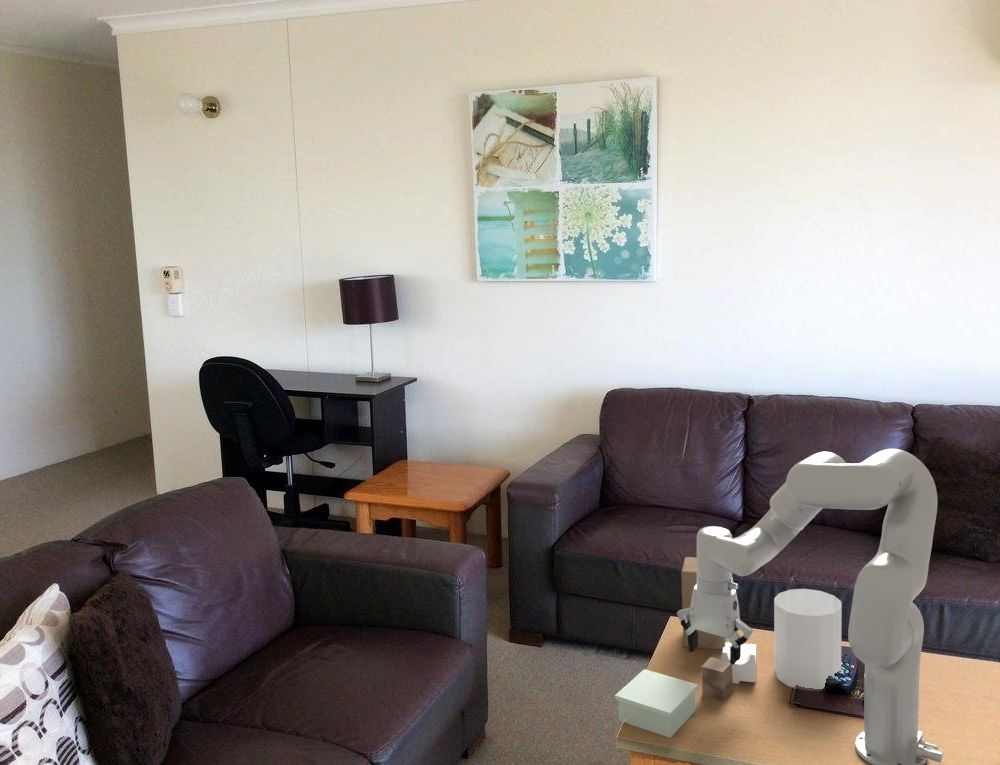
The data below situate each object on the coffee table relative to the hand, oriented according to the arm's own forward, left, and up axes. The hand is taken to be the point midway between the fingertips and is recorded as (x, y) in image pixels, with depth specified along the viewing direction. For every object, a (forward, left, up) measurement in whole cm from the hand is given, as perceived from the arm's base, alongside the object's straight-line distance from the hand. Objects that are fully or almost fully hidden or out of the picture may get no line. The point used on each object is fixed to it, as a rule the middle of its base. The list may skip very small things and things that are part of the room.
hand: (713, 655), depth 192 cm
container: (-15, -18, -9) cm, 25 cm away
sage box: (+6, +15, -9) cm, 19 cm away
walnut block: (-1, 0, -9) cm, 9 cm away
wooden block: (+12, -22, -9) cm, 27 cm away
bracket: (-1, -12, -9) cm, 16 cm away
